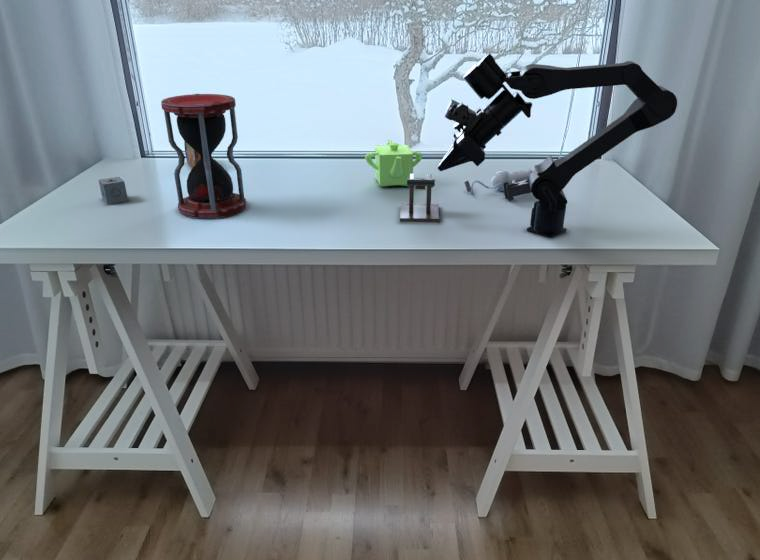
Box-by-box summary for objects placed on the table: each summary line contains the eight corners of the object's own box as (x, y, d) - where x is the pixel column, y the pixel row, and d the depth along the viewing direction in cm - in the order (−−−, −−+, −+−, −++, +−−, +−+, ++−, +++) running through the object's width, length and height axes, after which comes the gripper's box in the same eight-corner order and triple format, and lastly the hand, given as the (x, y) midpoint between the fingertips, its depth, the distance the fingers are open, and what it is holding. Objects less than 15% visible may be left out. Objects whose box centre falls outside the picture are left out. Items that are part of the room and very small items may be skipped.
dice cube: (107, 204, 162) (103, 184, 159) (102, 199, 165) (98, 179, 163) (128, 201, 164) (124, 181, 162) (122, 196, 168) (118, 176, 165)
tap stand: (439, 223, 150) (441, 183, 145) (399, 223, 151) (400, 182, 146) (438, 208, 160) (439, 170, 155) (401, 208, 160) (401, 169, 155)
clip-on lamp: (466, 210, 168) (537, 198, 164) (462, 186, 164) (535, 173, 160) (467, 192, 177) (534, 180, 173) (463, 169, 174) (532, 157, 170)
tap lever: (434, 188, 142) (435, 176, 141) (406, 188, 142) (407, 176, 142) (433, 189, 153) (433, 179, 152) (407, 189, 153) (407, 178, 152)
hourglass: (178, 221, 151) (160, 107, 138) (178, 201, 164) (161, 94, 152) (249, 215, 155) (237, 103, 142) (243, 196, 168) (232, 92, 155)
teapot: (399, 195, 169) (399, 153, 164) (357, 186, 176) (356, 145, 170) (429, 181, 180) (430, 141, 175) (388, 173, 186) (388, 135, 181)
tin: (185, 161, 198) (181, 132, 194) (196, 160, 199) (192, 131, 195) (195, 173, 186) (191, 143, 182) (206, 172, 188) (202, 141, 183)
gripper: (466, 79, 140) (413, 132, 146) (472, 93, 124) (412, 152, 130) (500, 118, 144) (446, 168, 150) (510, 137, 128) (450, 192, 134)
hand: (438, 169), depth 141 cm, fingers closed
